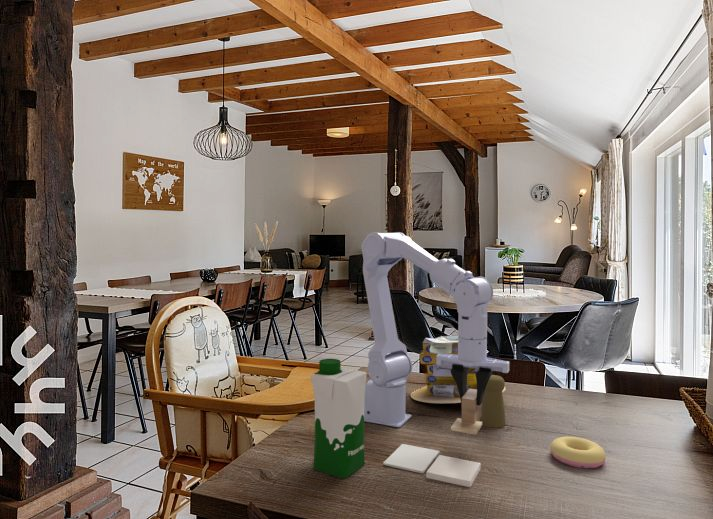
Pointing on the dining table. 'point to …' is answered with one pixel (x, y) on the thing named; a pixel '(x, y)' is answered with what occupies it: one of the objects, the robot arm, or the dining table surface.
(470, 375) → the stacked yellow boxes plate
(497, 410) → the cork
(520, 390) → the dining table surface
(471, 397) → the tan blocky piece
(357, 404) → the milk carton
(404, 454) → the plate
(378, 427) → the dining table surface
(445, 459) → the tile
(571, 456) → the donut
